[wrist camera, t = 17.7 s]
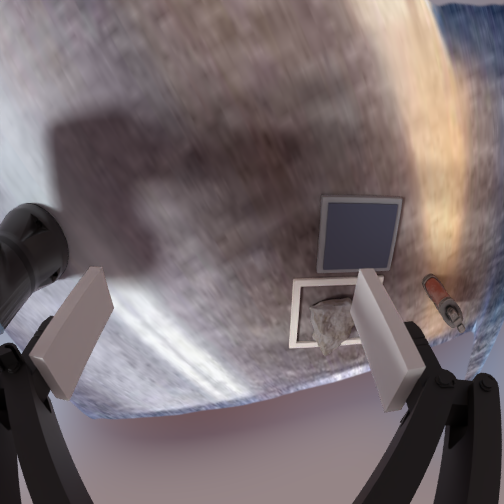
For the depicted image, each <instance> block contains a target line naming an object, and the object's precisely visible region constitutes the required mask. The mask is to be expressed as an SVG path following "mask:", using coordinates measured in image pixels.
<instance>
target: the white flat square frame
mask: <svg viewBox="0 0 504 504" xmlns="http://www.w3.org/2000/svg"><path fill="white" fill-rule="evenodd" d="M378 277H379V279H380V281H381V282H382V284H383V279H384V276H383V275H380V276H378ZM357 278H358V276H356V277H328V278H294V279H293V289H292V307H291V324H290V339H289V348H306V347H320V346H318V343H317V342H316V341H296V339H297V328H298V316H299V303H300V289H301V286H331V285H355V284H356V283H357ZM351 344H362V343H361V340H360V337H359V338H348V339H347V340H346V341H344V342H342V343H341V345H351Z"/></svg>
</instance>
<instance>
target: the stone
mask: <svg viewBox="0 0 504 504" xmlns="http://www.w3.org/2000/svg"><path fill="white" fill-rule="evenodd" d="M351 305H352V300H351V299H350V298H343V299H331V300H326V301H322V302H319V303H318V304H317V305H315V306H310V308H309V309H310V310H311V319H310V320H311V323H312V326H313V328H314V333H313V335H312V337H313V339H314V340H315V341H316V342H317V343H318V346H320V348H321V351H322V353H323V355H324V356H327V355H329V354H330V353H331V352H332V351H333V350H335V349H336V348H338V347H339V346H340V345H341V343H342V342H344V341H346V340H347V339H348V337H349V335H350V333H351V329H352V327H353V326H354V325H355V324H354V321H353V318H352V315H351V313H350V310H351Z"/></svg>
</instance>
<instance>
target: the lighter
mask: <svg viewBox="0 0 504 504" xmlns="http://www.w3.org/2000/svg"><path fill="white" fill-rule="evenodd" d="M422 284H423V287H424V290H425V291H426V293H427V295H428V296H429V298H430V299H431V300H432V301H433V302H434V304H435V306H436V308H437V310H438V311H439V313H440V314H441V315H442V317H443V319H444V321H445V322H446V323H447V324H448V325H449V326H450V327H452V328H455V327H457V329H458V331H459V332H460V333H463V332H464V331H465V327H464V325H463V324H462V321H463V316H462V312H461V310H460V308H459V306H458V305H457V303H456V302H455V301H454V300H453V299H452V298H451V297H450V296H449V294H448V293H447V292H446V290H445V288H444V286H443V285H442V283H441V282H440V281H439V280H438V278H437V277H435V276H434V275H433V274H428V275H427V276H425V277H424V279H423V281H422Z"/></svg>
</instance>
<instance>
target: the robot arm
mask: <svg viewBox="0 0 504 504" xmlns="http://www.w3.org/2000/svg"><path fill="white" fill-rule="evenodd" d="M67 264H68V246H67V242H66V239H65V236H64V234H63V232H62V230H61V228H60V226H59V225H58V223H57V222H56V221H55V219H54V218H53V217H52V216H51V215H50V214H49V213H48V212H47V211H45V210H44V209H42V208H41V207H39V206H36V205H33V204H22V205H19V206H17V207H16V208H14V209H13V210H11V211H10V212H9V213H8V214H7V215H6V216H5V218H4V220H3V221H2V223H1V224H0V335H1V334H3V332H4V330H5V328H6V327H7V326H8V324H9V323H10V322H11V320H12V319H13V318H14V316H15V315H16V314H17V312H18V311H19V310H20V308H21V307H22V306H23V305H24V303H25V302H26V301H27V300H28V298H29V297H30V296H31V295H32V293H33V292H35V291H37V290H39V289H41V288H43V287H46V286H48V285H50V284H52V283H53V282H55V281H56V280H57V279H58V278H59V277H60V276H61V275H62V273H63V272H64V271H65V269H66V267H67ZM113 309H114V306H113V303H112V300H111V296H110V293H109V289H108V286H107V282H106V279H105V275H104V271H103V267H92V266H90V267H89V269H88V270H87V271H86V273H85V274H84V275H83V277H82V278H81V279H80V281H79V282H78V283H77V285H76V286H75V287H74V289H73V290H72V291H71V293H70V294H69V296H68V297H67V298H66V300H65V301H64V303H63V304H62V305H61V307H60V308H59V310H58V311H57V313H56V314H55V316H50V317H48V318H47V319H46V320H45V321H43V322H42V324H41V325H40V327H39V328H38V331H36V333H35V334H34V337H32V339H31V340H30V342H29V343H28V345H27V346H26V348H25V349H24V351H23V353H22V354H21V353H20V351H19V350H18V348H17V346H16V345H15V344H13V343H5V344H3V345H1V346H0V504H21V496H20V488H19V478H18V464H17V455H18V458H19V462H20V466H21V469H22V472H23V476H24V479H25V482H26V485H27V488H28V490H29V493H30V496H31V499H32V501H33V504H94V503H93V501H92V500H91V498H90V496H89V494H88V492H87V490H86V488H85V486H84V484H83V482H82V480H81V477H80V476H79V473H78V471H77V469H76V467H75V464H74V462H73V460H72V458H71V455H70V453H69V450H68V448H67V445H66V443H65V440H64V438H63V435H62V433H61V430H60V427H59V424H58V421H57V419H56V415H55V412H54V409H53V406H52V403H51V400H50V398H49V397H48V394H49V392H50V390H51V391H52V393H53V394H54V396H55V397H56V398H59V399H63V400H67V401H70V398H71V396H72V394H73V392H74V389H75V387H76V385H77V383H78V380H79V378H80V376H81V374H82V372H83V370H84V367H85V365H86V363H87V361H88V359H89V357H90V355H91V353H92V351H93V349H94V347H95V345H96V343H97V341H98V339H99V337H100V335H101V333H102V331H103V329H104V327H105V325H106V323H107V321H108V319H109V317H110V315H111V313H112V311H113ZM350 313H351V315H352V318H353V321H354V324H355V326H356V329H357V332H358V335H359V337H360V340H361V343H362V346H363V349H364V351H365V354H366V357H367V360H368V363H369V366H370V369H371V372H372V375H373V378H374V381H375V384H376V387H377V390H378V393H379V396H380V400H381V403H382V406H383V409H384V412H391V411H396V410H401V409H402V407H403V405H404V404H405V402H406V403H407V406H408V408H409V409H408V411H407V412H406V414H405V415H404V417H403V418H402V420H401V421H400V423H401V424H400V426H399V428H398V430H397V432H396V434H395V436H394V437H393V439H392V441H391V443H390V445H389V447H388V448H387V450H386V452H385V453H384V455H383V457H382V459H381V460H380V462H379V464H378V465H377V467H376V469H375V470H374V472H373V473H372V475H371V477H370V478H369V480H368V481H367V483H366V484H365V486H364V487H363V489H362V490H361V492H360V493H359V495H358V496H357V497H356V499H355V500H354V502H353V503H352V504H410V502H411V500H412V498H413V496H414V495H415V493H416V490H417V489H418V487H419V485H420V483H421V480H422V479H423V477H424V474H425V472H426V470H427V468H428V466H429V464H430V461H431V459H432V457H433V454H434V452H435V450H436V447H437V444H438V442H439V439H440V437H441V434H442V432H443V429H444V427H445V425H446V428H445V437H444V446H443V454H442V461H441V467H440V473H439V479H438V484H437V489H436V494H435V499H434V504H498V500H499V490H500V479H501V456H502V434H501V410H500V397H499V387H498V383H497V381H496V380H495V378H493V377H492V376H491V375H489V374H487V373H479V374H477V375H476V376H475V378H474V379H473V381H468V380H458V379H456V377H455V376H454V375H453V373H451V372H449V371H448V370H444V369H442V368H441V366H440V364H439V362H438V360H437V358H436V356H435V354H434V353H433V351H432V349H431V347H430V345H428V344H429V343H428V341H427V339H426V338H425V336H424V334H423V332H422V330H421V329H420V328H419V327H418V326H417V325H416V324H415V323H414V322H413V321H410V322H403V321H402V319H401V317H400V315H399V313H398V311H397V309H396V308H395V306H394V304H393V302H392V300H391V298H390V297H389V295H388V293H387V291H386V290H385V288H384V286H383V284H382V282H381V281H380V279H379V277H378V276H377V274H376V272H375V270H374V269H373V268H366V269H359V273H358V278H357V283H356V288H355V292H354V297H353V301H352V305H351V310H350Z"/></svg>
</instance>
